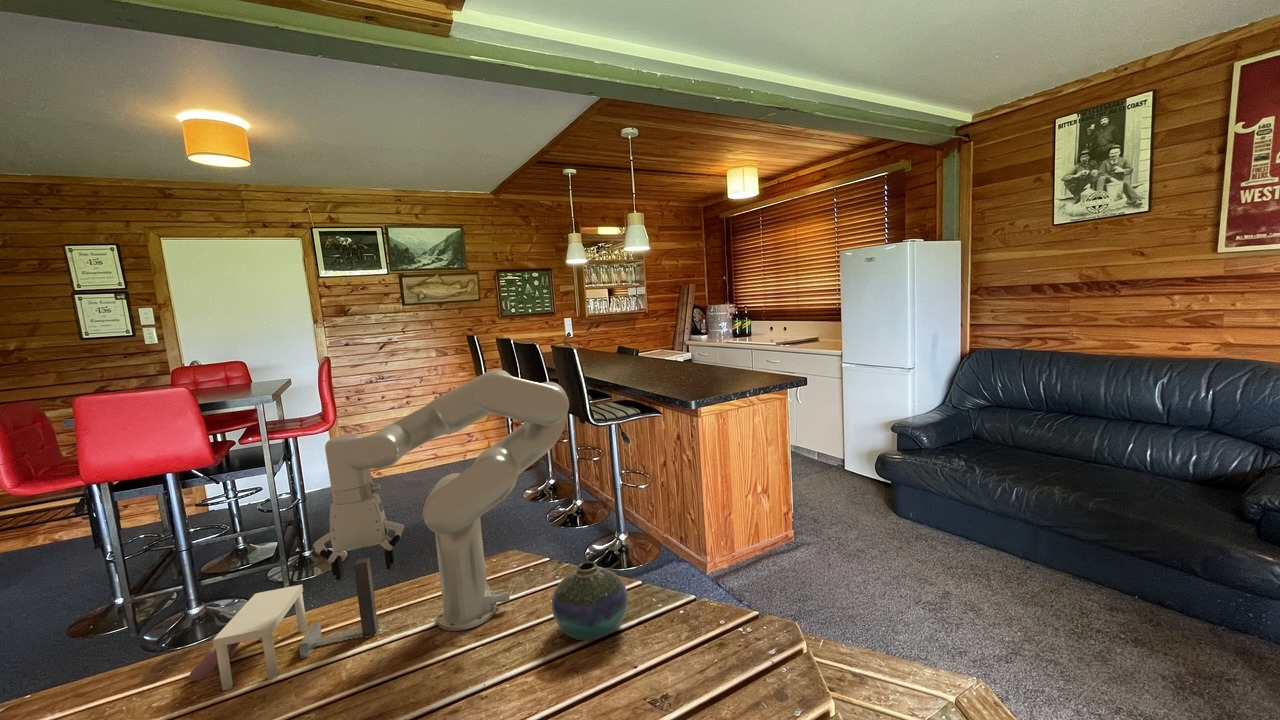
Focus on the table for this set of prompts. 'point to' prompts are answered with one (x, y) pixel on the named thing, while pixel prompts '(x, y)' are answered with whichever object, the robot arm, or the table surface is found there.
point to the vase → (589, 602)
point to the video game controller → (210, 663)
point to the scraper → (365, 607)
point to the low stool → (259, 627)
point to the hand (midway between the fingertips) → (365, 572)
